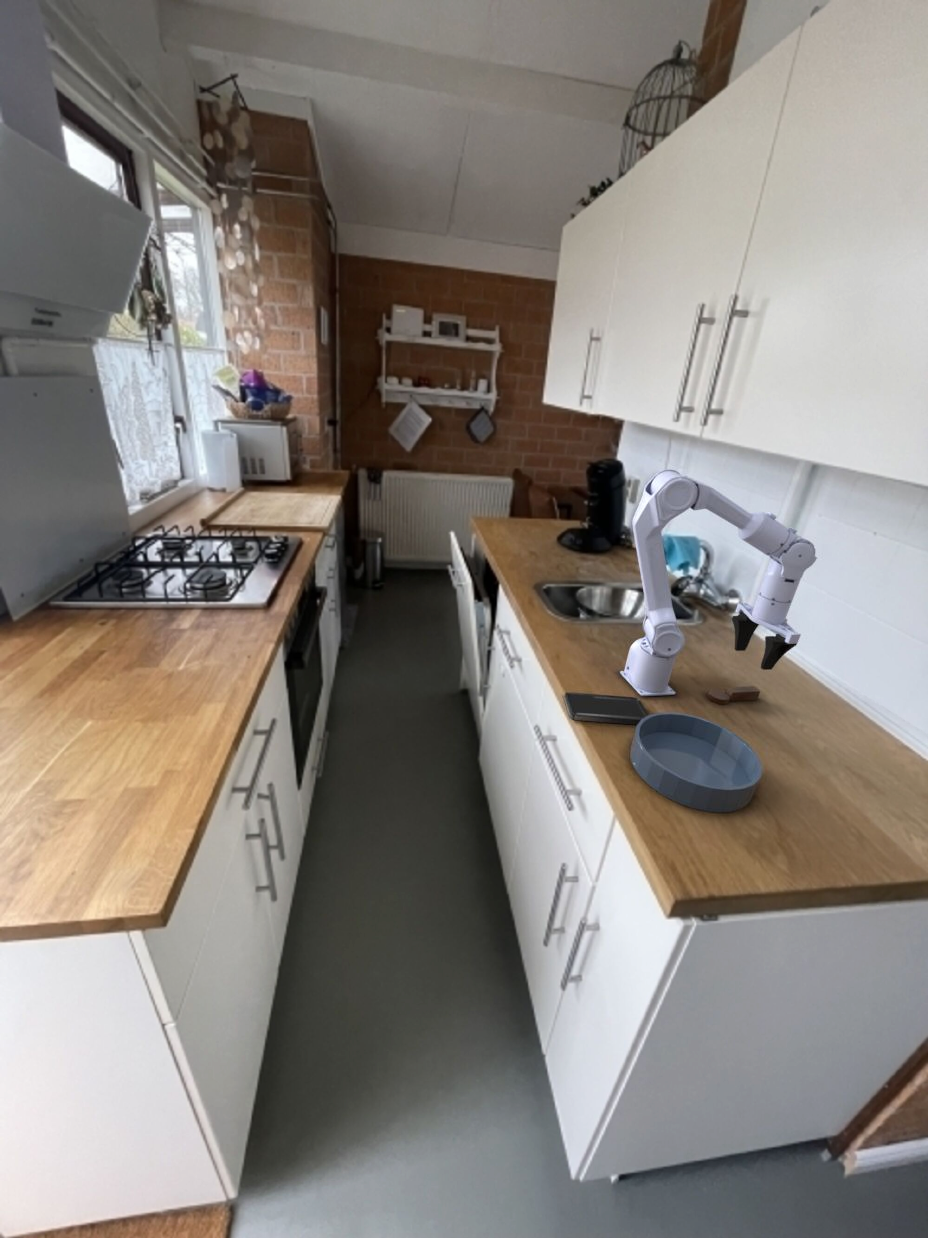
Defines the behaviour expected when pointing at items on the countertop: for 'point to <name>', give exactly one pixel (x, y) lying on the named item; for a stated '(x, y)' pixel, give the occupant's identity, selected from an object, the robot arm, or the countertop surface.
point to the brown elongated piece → (733, 694)
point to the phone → (604, 708)
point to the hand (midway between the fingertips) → (752, 659)
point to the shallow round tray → (695, 762)
